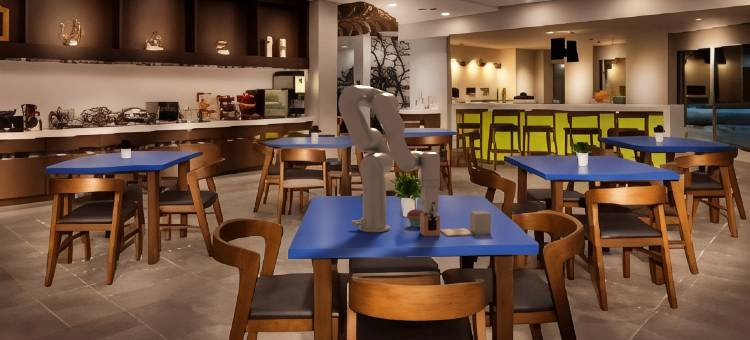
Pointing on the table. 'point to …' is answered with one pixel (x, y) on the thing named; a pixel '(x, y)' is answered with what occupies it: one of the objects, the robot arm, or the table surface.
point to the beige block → (480, 222)
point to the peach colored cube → (424, 225)
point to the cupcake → (414, 216)
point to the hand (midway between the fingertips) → (429, 228)
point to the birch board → (456, 232)
